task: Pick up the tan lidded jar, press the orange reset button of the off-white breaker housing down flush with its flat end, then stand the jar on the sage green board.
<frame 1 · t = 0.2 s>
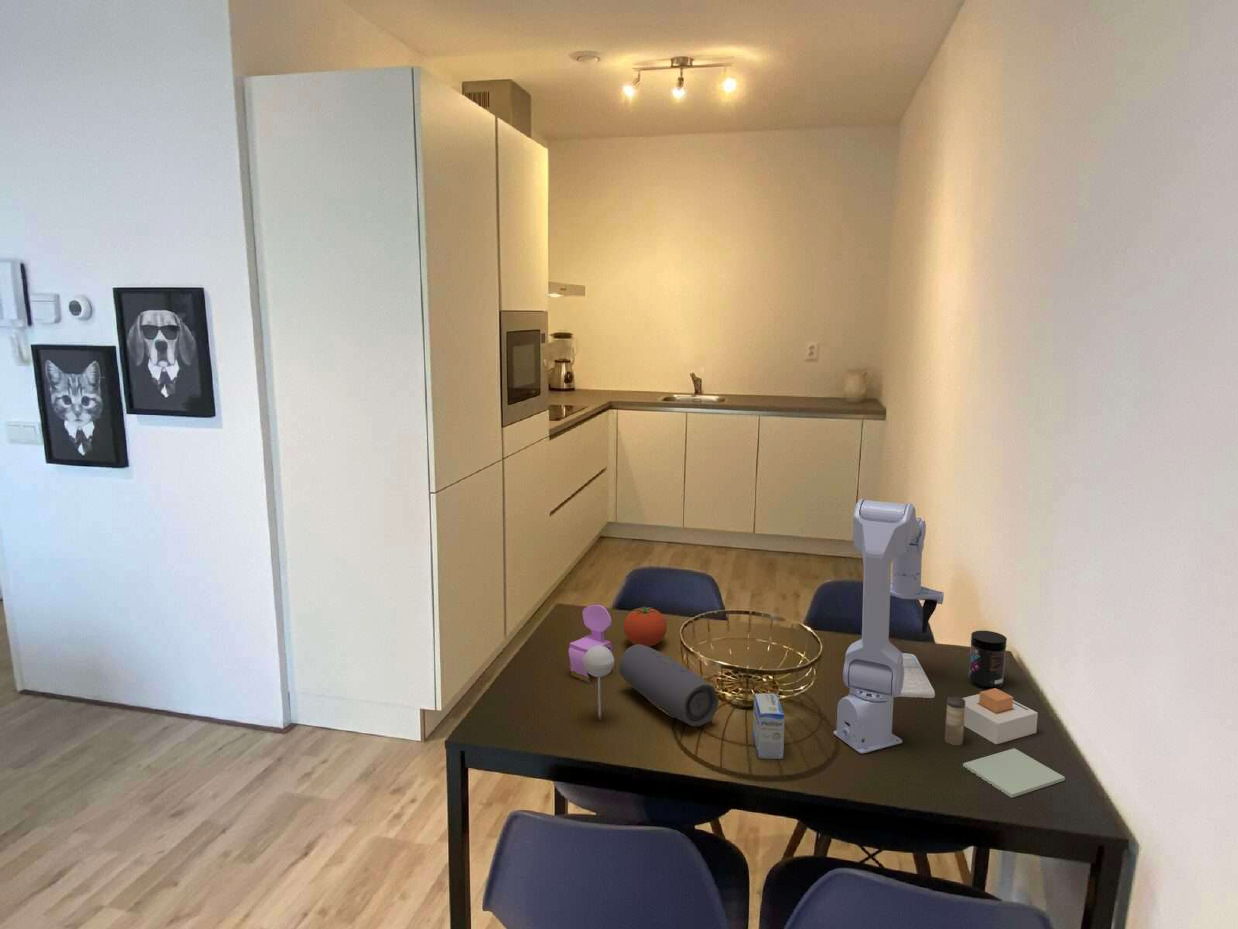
hand: (905, 627, 170), 11 cm above the table, tool pointing down, fingers open, 7 cm apart
bluetooth speaker: (666, 708, 158), on the table
supplement container: (985, 684, 167), on the table
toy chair: (592, 674, 174), on the table
calculator: (892, 678, 171), on the table
tan lidded jar: (953, 741, 144), on the table
lollipop: (599, 720, 154), on the table
tomato: (645, 646, 189), on the table
medicine box: (767, 748, 143), on the table
breaker housing: (994, 726, 149), on the table
reset button: (995, 701, 148), point 5 cm above the table, slide at 2.2 cm
sage board: (1012, 773, 134), on the table
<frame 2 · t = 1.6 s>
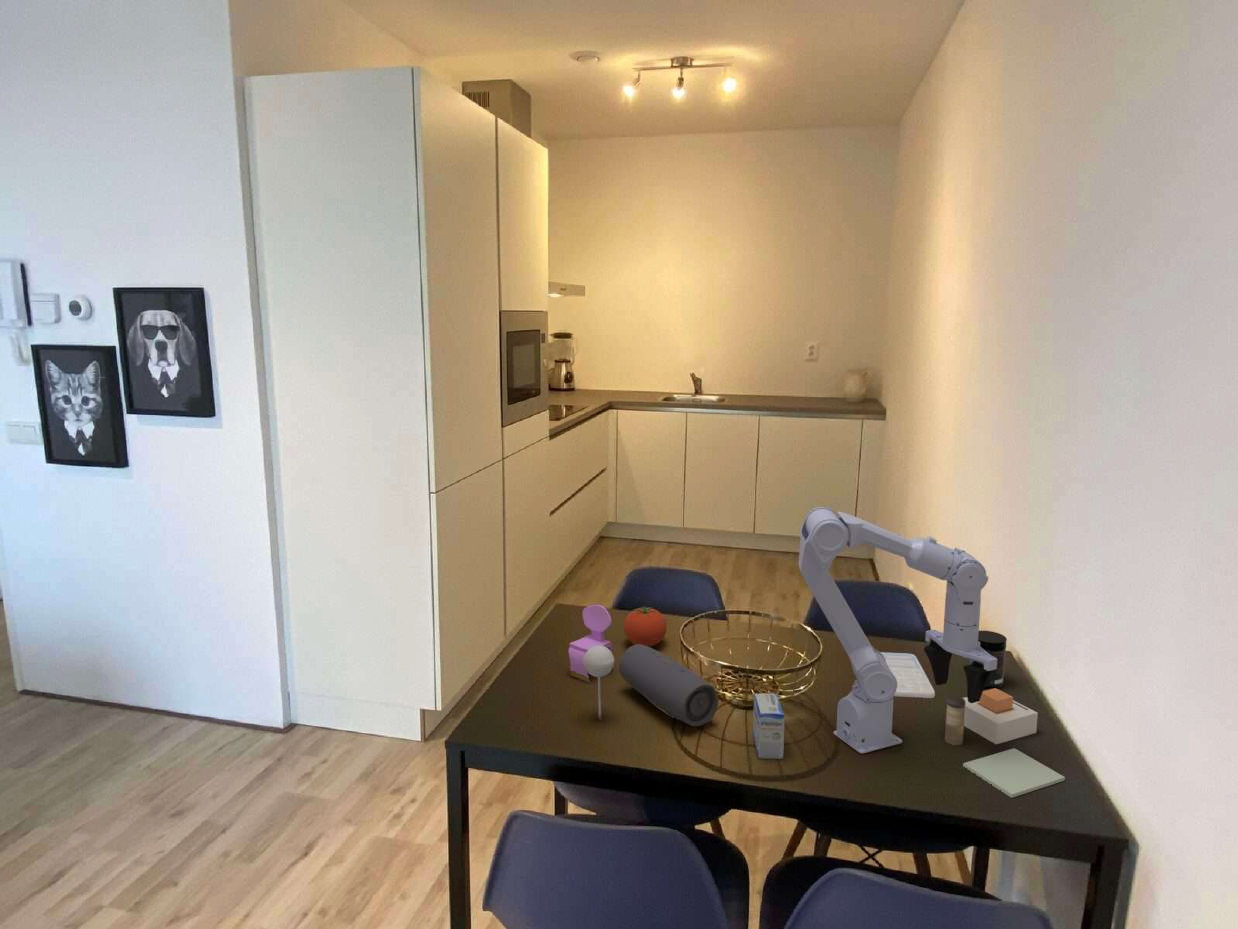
hand: (957, 692, 143), 9 cm above the table, tool pointing down, fingers open, 7 cm apart
nothing on the table moved.
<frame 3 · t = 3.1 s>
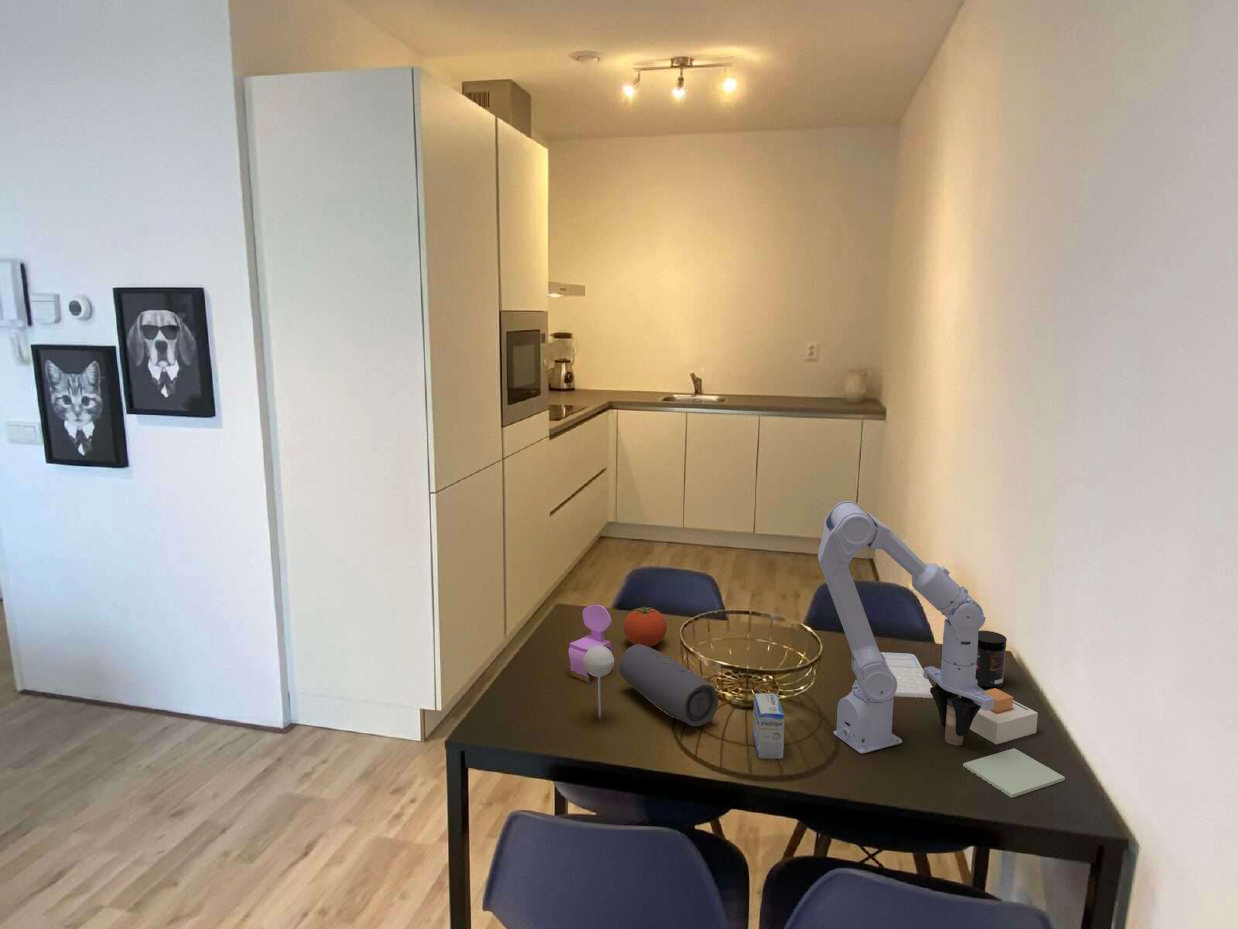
hand: (954, 729, 144), 2 cm above the table, tool pointing down, fingers closed on tan lidded jar, 3 cm apart
tan lidded jar: (953, 741, 144), on the table, touching gripper
everything else where it was.
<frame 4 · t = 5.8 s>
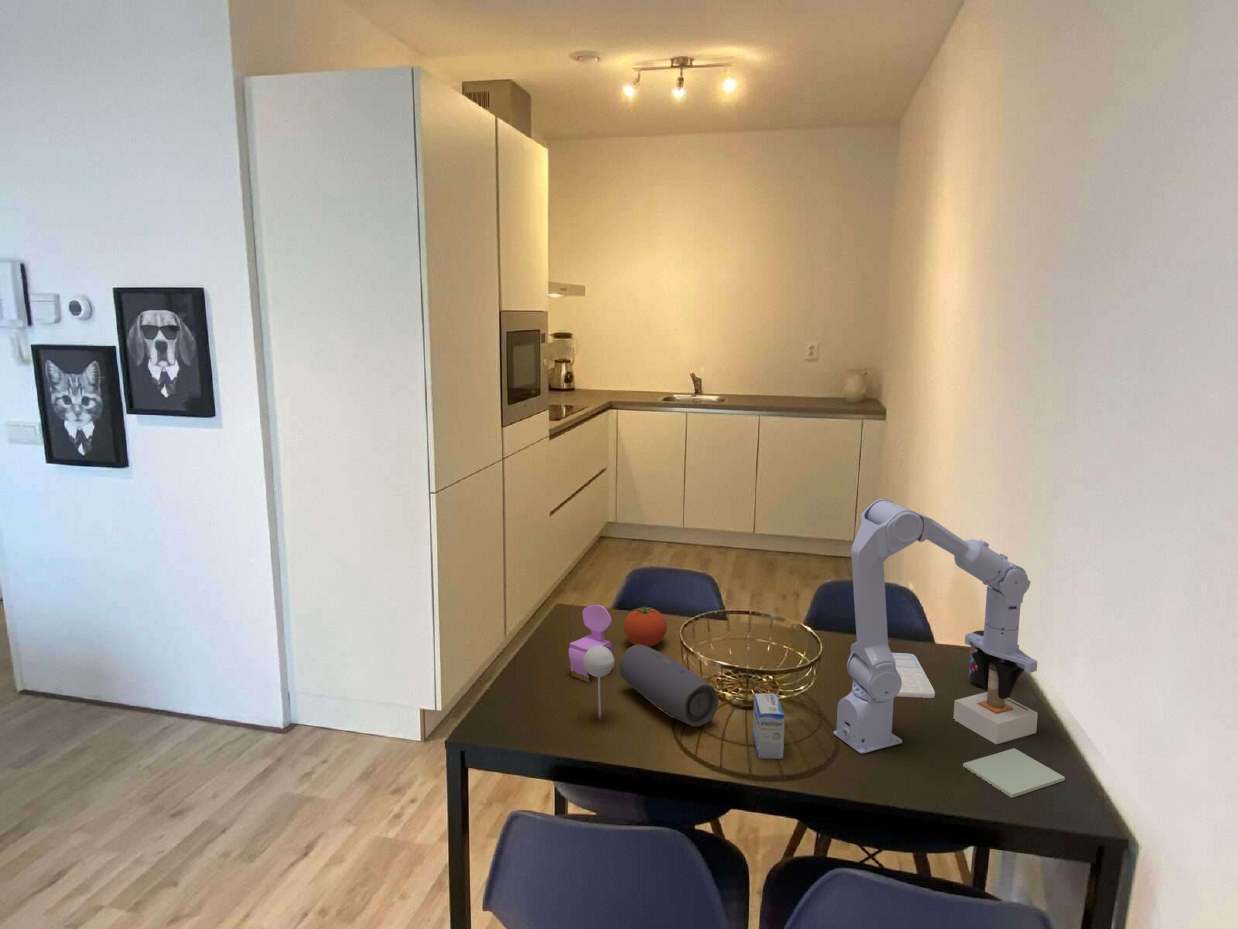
hand: (996, 693, 148), 7 cm above the table, tool pointing down, fingers closed on tan lidded jar, 3 cm apart
tan lidded jar: (995, 704, 149), point 4 cm above the table, touching gripper, reset button
reset button: (995, 711, 149), point 3 cm above the table, slide at 0.1 cm, touching tan lidded jar
everything else where it was.
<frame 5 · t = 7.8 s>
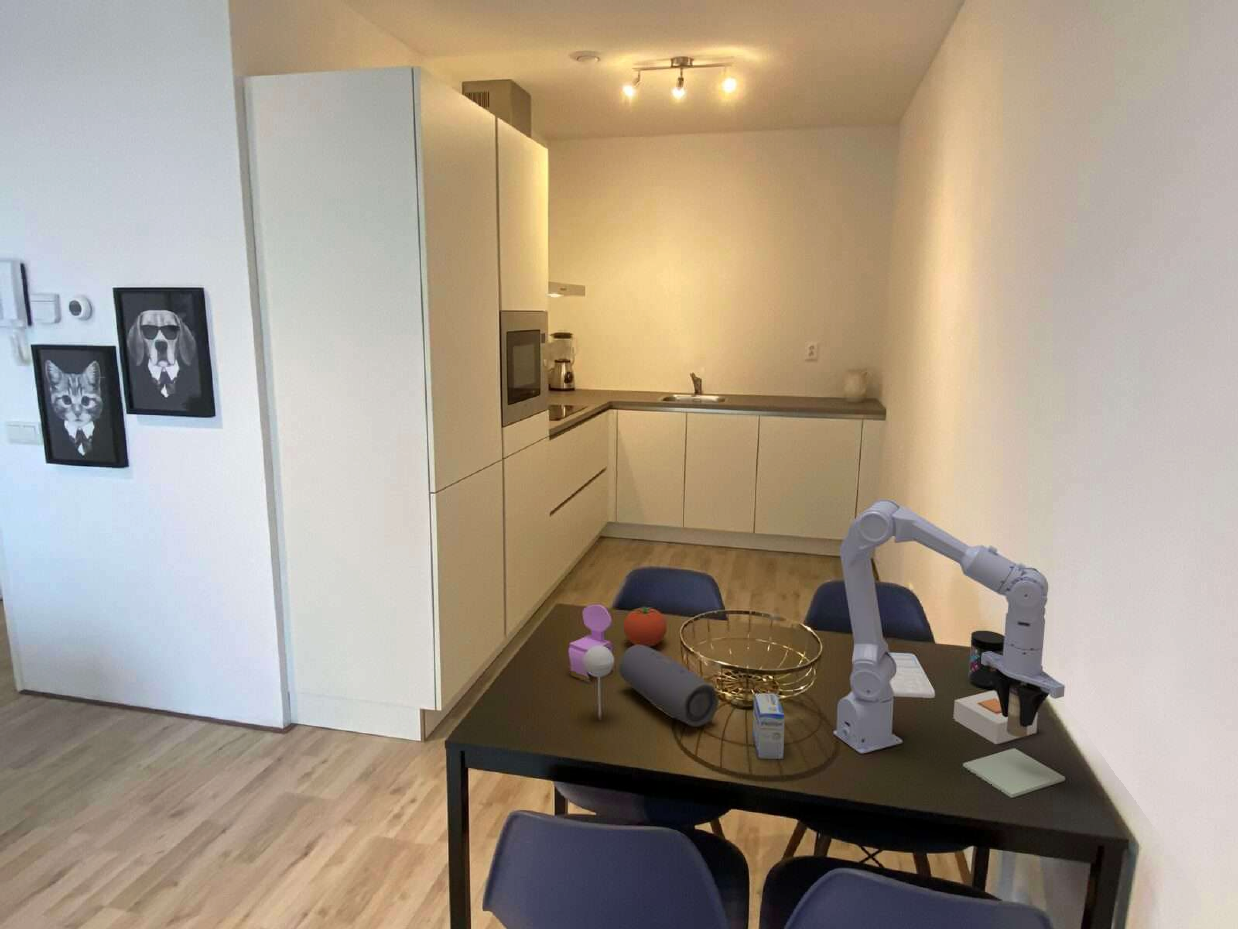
hand: (1017, 720, 132), 10 cm above the table, tool pointing down, fingers closed on tan lidded jar, 3 cm apart
tan lidded jar: (1016, 732, 132), point 7 cm above the table, touching gripper
reset button: (995, 711, 149), point 3 cm above the table, slide at 0.1 cm
everything else where it was.
when the fingers open (3 cm above the table, at t = 9.5 s): tan lidded jar stays where it is, resting on sage board.
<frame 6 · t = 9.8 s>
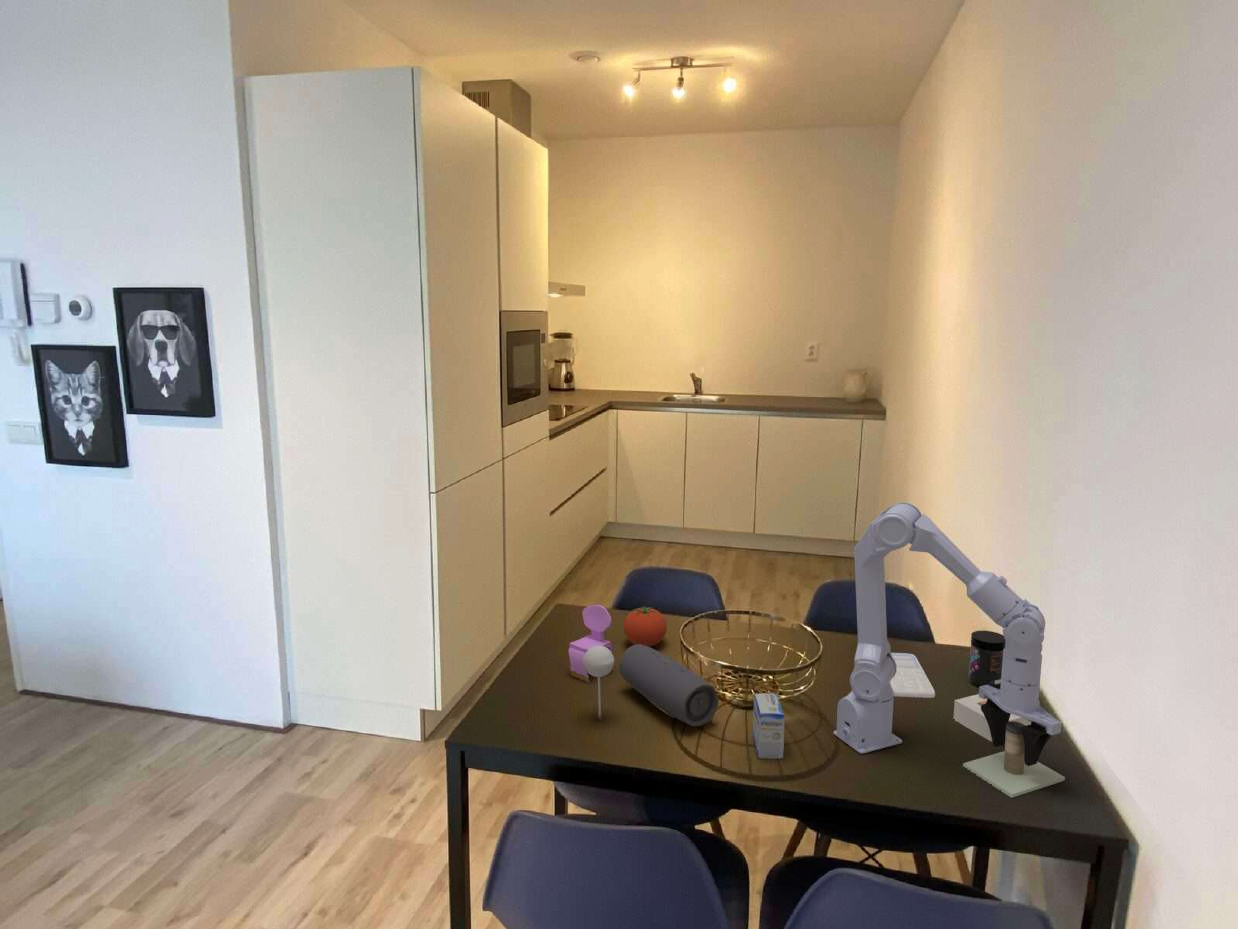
hand: (1014, 754, 133), 4 cm above the table, tool pointing down, fingers open, 6 cm apart
tan lidded jar: (1013, 769, 134), point 1 cm above the table, touching sage board
everything else where it was.
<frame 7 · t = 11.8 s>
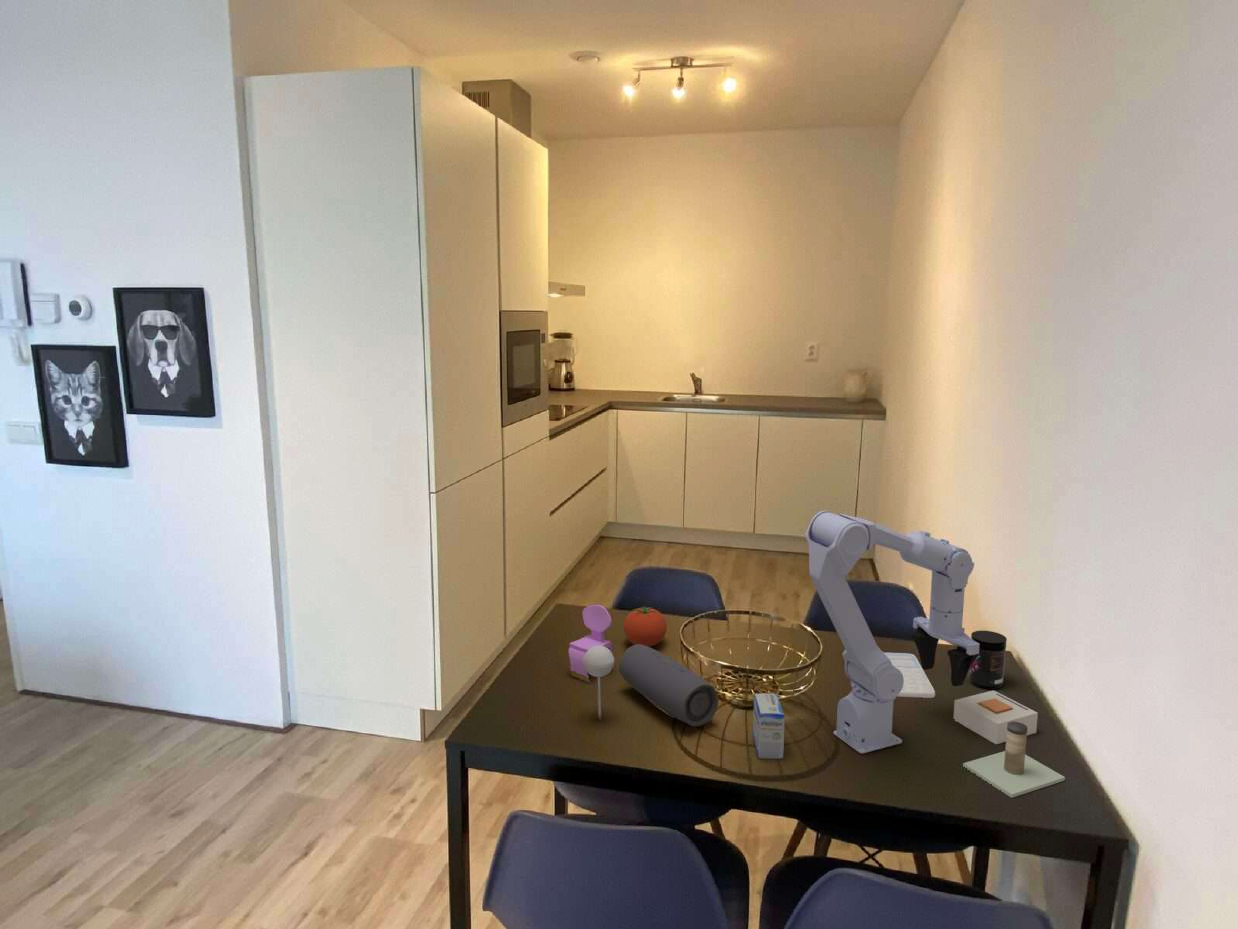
hand: (942, 676, 149), 10 cm above the table, tool pointing down, fingers open, 7 cm apart
nothing on the table moved.
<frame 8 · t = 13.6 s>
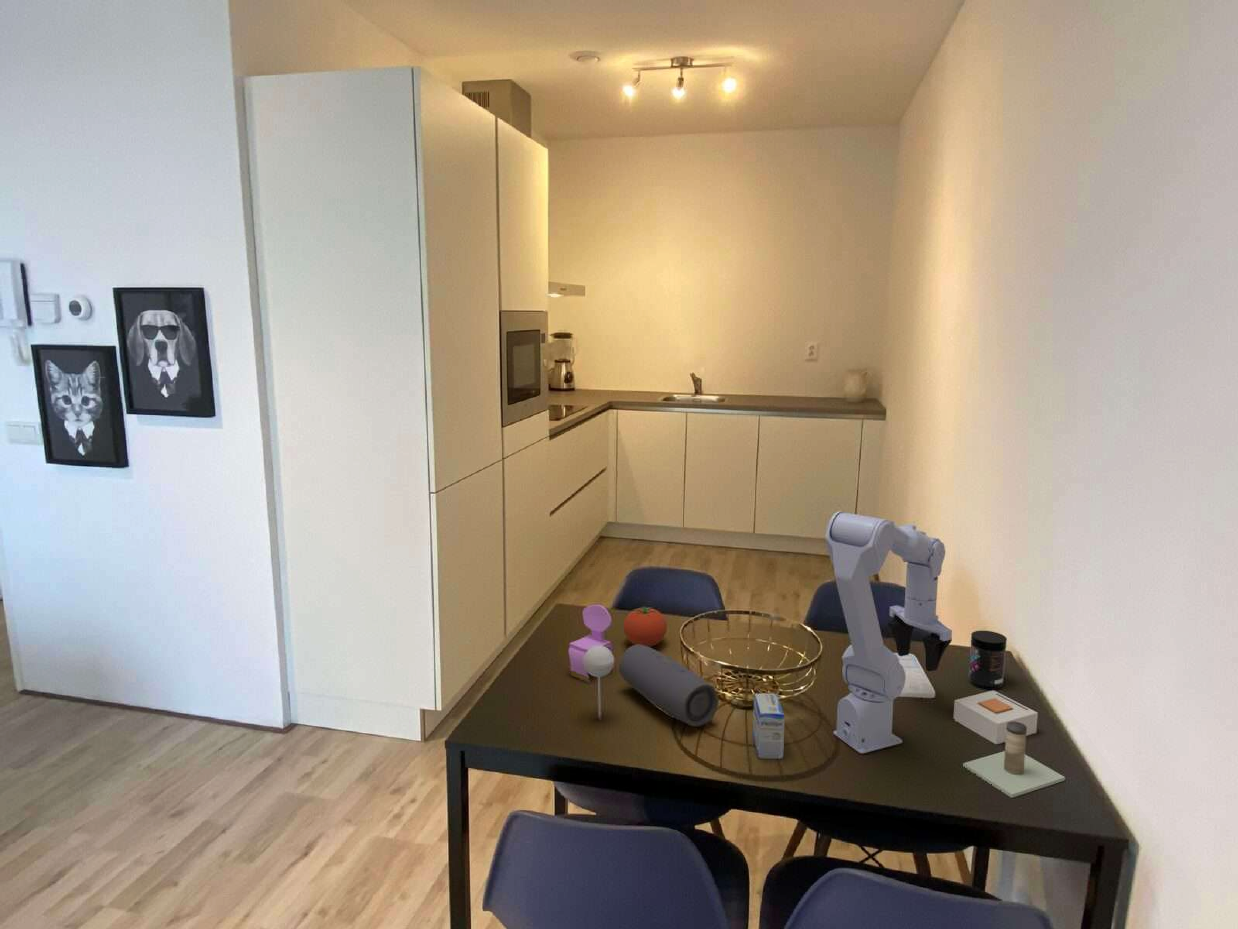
hand: (917, 662, 156), 9 cm above the table, tool pointing down, fingers open, 7 cm apart
nothing on the table moved.
at the end: reset button slide at 0.1 cm; tan lidded jar inside the target area on the sage board (0.1 cm from its centre), point 0.6 cm above the sage board's base; tan lidded jar tilted 1° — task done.
